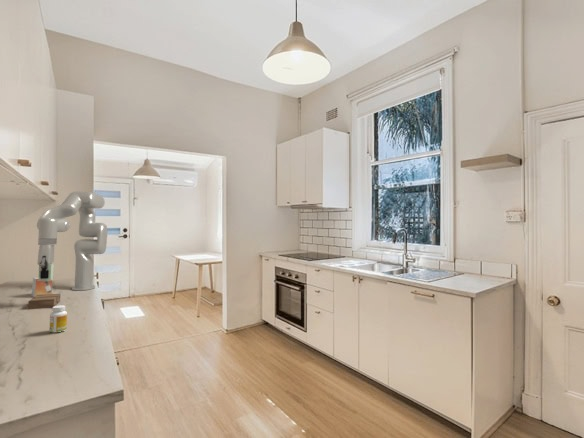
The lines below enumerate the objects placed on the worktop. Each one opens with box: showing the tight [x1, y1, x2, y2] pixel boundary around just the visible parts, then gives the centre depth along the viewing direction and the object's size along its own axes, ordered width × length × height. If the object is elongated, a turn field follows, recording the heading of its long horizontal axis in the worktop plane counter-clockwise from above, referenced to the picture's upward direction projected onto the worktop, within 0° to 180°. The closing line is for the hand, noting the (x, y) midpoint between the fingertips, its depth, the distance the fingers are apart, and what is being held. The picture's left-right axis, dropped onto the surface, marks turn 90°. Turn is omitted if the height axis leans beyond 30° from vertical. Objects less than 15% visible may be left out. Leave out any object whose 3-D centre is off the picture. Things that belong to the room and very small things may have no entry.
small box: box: [31, 276, 53, 298], centre depth 181 cm, size 8×6×10 cm
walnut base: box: [27, 293, 61, 310], centre depth 162 cm, size 14×10×4 cm
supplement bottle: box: [48, 304, 68, 333], centre depth 124 cm, size 5×5×10 cm
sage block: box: [37, 263, 55, 281], centre depth 162 cm, size 5×5×8 cm
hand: (45, 277), depth 162 cm, fingers closed on sage block, 5 cm apart
